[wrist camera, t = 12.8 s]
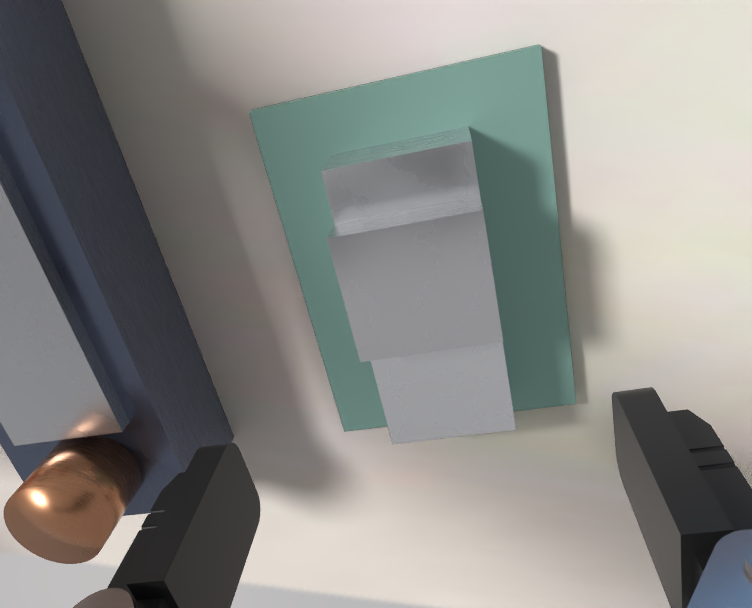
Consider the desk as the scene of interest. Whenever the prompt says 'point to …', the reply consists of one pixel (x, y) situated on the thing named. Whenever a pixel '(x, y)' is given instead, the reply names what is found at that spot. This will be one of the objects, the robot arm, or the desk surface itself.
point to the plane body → (83, 309)
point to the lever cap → (421, 284)
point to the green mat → (498, 196)
